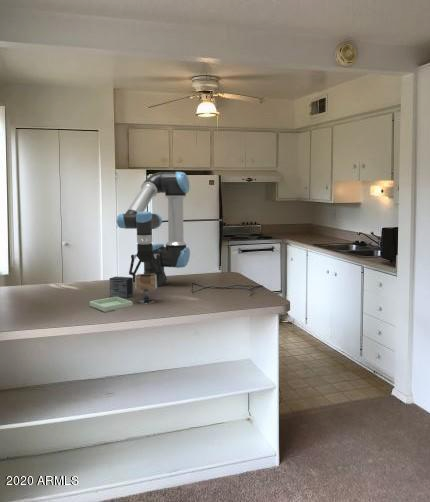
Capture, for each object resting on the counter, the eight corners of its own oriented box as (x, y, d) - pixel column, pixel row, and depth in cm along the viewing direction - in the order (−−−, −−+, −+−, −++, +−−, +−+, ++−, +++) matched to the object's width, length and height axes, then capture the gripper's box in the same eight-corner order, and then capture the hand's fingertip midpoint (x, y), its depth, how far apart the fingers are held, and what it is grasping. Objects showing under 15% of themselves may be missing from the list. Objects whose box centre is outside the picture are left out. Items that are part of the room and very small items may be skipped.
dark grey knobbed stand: (135, 302, 256) (134, 283, 255) (148, 300, 261) (148, 281, 260) (144, 305, 250) (143, 285, 249) (157, 302, 255) (157, 283, 254)
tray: (89, 306, 250) (89, 301, 249) (117, 301, 259) (116, 296, 259) (104, 312, 238) (104, 307, 238) (132, 306, 248) (132, 301, 248)
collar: (137, 285, 259) (137, 274, 258) (155, 285, 260) (155, 273, 259) (136, 289, 250) (136, 277, 249) (155, 289, 251) (154, 277, 250)
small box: (133, 296, 270) (133, 277, 268) (127, 299, 264) (127, 279, 262) (116, 295, 273) (115, 275, 272) (109, 298, 267) (108, 278, 265)
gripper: (121, 244, 247) (123, 290, 250) (166, 243, 249) (168, 289, 252) (123, 242, 254) (124, 287, 258) (167, 241, 256) (168, 285, 259)
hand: (146, 288), depth 255 cm, fingers closed on collar, 9 cm apart
